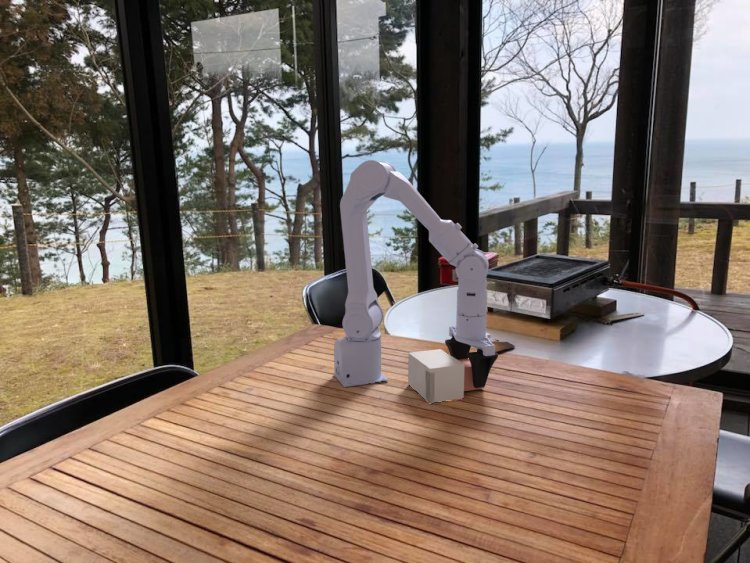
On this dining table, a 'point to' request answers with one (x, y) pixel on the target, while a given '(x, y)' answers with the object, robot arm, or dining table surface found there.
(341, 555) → the dining table surface
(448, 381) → the off-white grooved box
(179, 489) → the dining table surface
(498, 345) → the parchment
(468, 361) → the pink cuboid
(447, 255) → the robot arm
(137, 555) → the dining table surface
